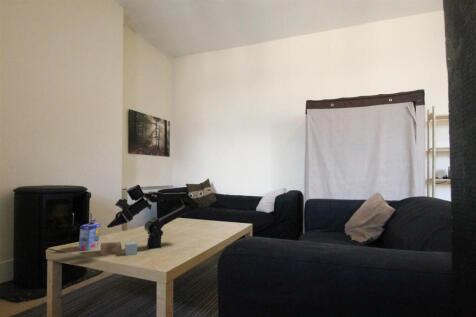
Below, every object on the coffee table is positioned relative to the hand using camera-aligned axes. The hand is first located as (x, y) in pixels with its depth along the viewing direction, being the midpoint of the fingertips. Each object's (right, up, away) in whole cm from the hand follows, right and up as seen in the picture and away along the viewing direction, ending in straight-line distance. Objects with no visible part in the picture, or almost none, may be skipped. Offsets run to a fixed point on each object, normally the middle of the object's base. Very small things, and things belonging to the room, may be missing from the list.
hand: (108, 226), depth 125 cm
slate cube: (+10, -13, +1) cm, 17 cm away
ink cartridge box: (-16, -14, +11) cm, 23 cm away
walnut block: (-1, -14, +4) cm, 14 cm away
